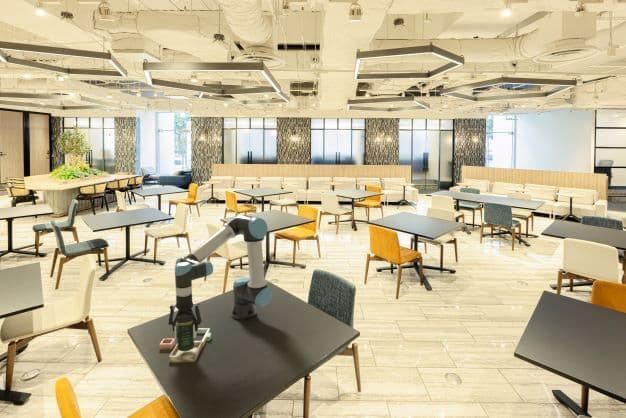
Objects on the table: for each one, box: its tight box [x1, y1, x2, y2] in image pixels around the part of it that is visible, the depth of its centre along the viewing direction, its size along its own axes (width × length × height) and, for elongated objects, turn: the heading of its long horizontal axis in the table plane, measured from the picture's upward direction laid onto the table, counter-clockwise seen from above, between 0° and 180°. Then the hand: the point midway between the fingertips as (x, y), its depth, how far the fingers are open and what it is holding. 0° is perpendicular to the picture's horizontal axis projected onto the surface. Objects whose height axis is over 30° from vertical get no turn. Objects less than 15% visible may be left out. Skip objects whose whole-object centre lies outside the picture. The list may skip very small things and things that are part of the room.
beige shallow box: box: [168, 340, 204, 363], centre depth 186 cm, size 13×14×3 cm
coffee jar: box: [176, 312, 195, 351], centre depth 184 cm, size 10×8×19 cm
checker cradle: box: [196, 327, 212, 347], centre depth 201 cm, size 15×15×2 cm
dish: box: [159, 337, 176, 351], centre depth 193 cm, size 6×6×3 cm
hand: (185, 337), depth 185 cm, fingers closed on coffee jar, 8 cm apart
